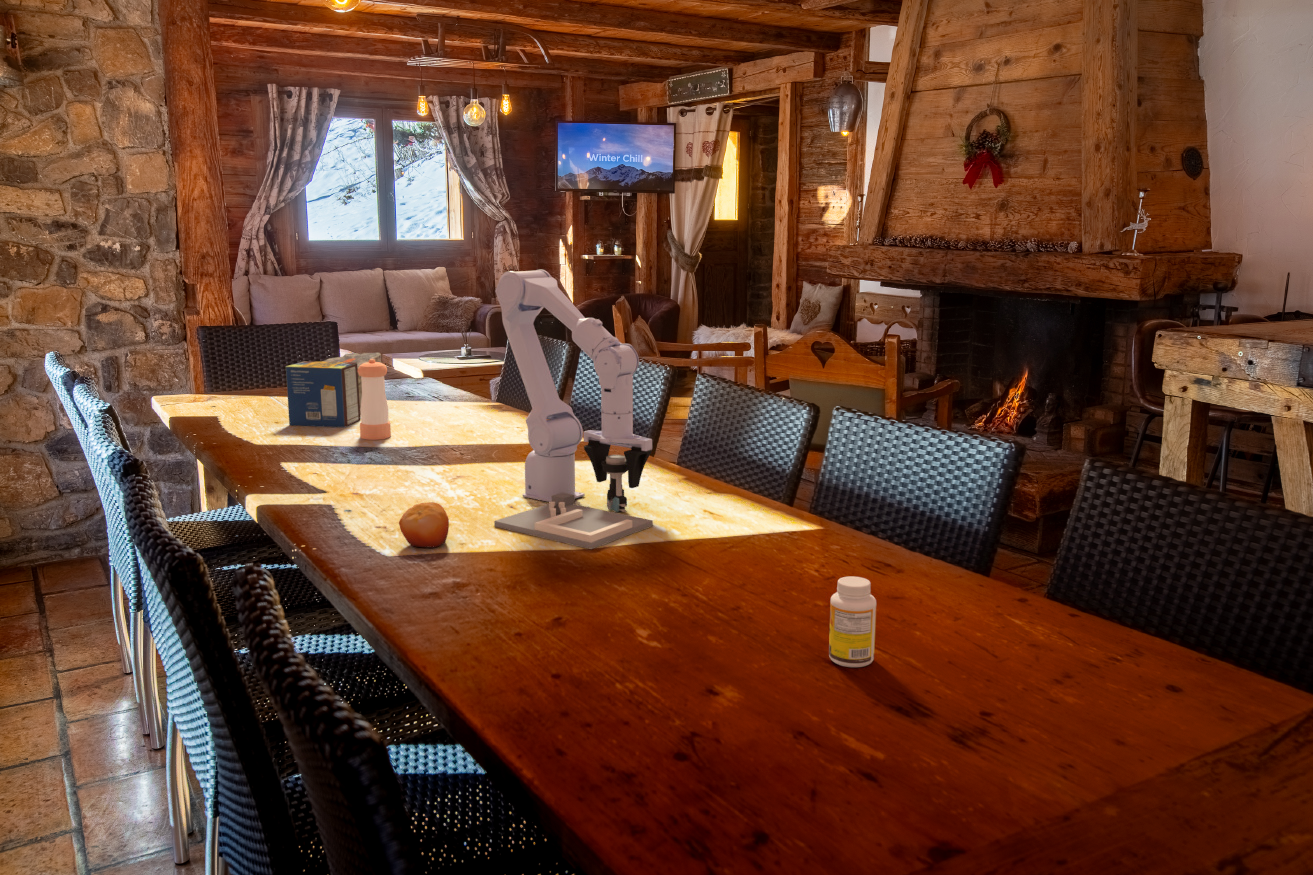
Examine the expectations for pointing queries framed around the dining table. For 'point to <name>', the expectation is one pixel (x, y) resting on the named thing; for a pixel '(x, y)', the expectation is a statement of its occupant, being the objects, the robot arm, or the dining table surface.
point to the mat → (573, 524)
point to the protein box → (323, 394)
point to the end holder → (552, 527)
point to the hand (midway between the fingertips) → (617, 484)
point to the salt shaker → (373, 402)
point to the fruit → (425, 525)
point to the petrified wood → (360, 360)
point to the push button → (615, 482)
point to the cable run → (560, 503)
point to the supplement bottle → (852, 623)
